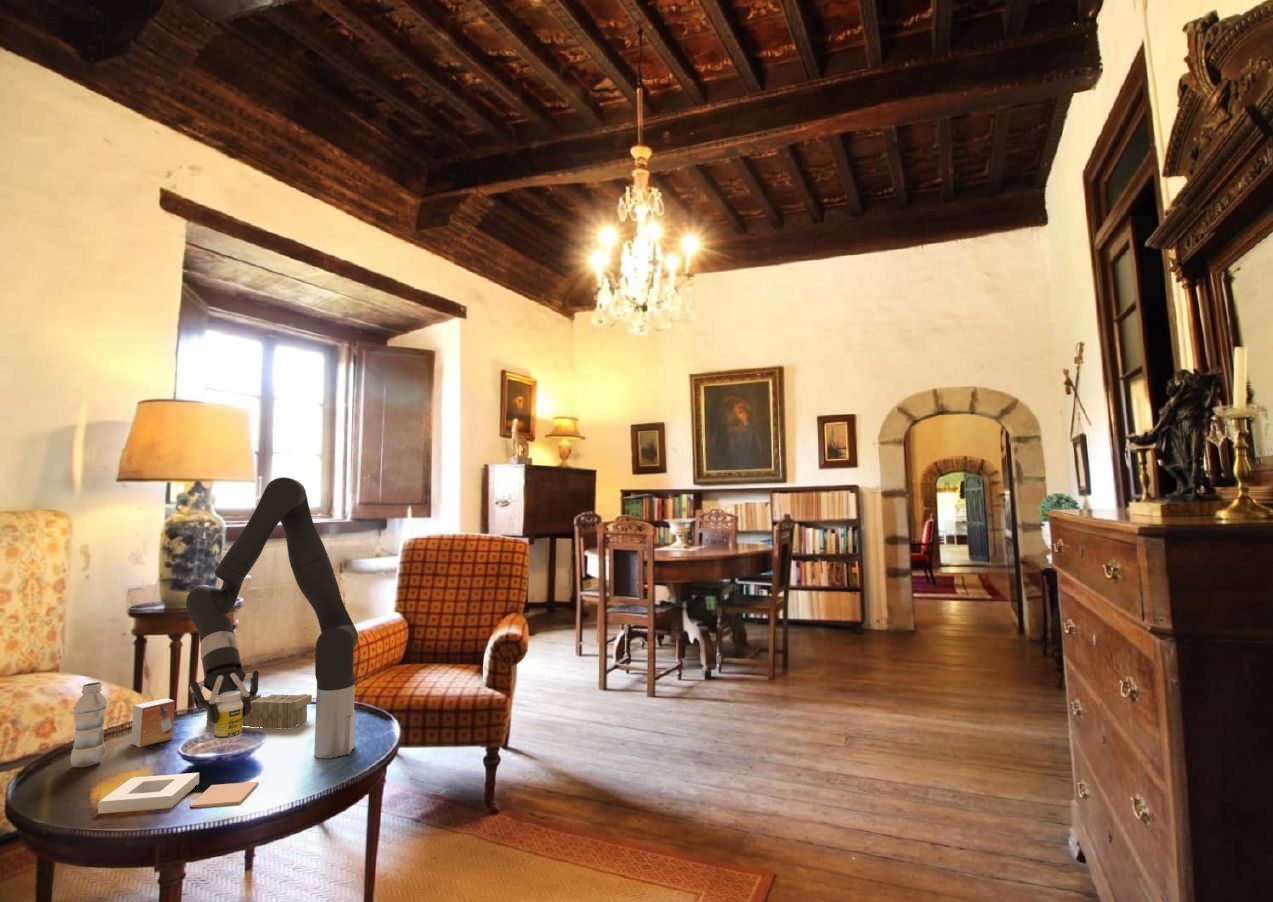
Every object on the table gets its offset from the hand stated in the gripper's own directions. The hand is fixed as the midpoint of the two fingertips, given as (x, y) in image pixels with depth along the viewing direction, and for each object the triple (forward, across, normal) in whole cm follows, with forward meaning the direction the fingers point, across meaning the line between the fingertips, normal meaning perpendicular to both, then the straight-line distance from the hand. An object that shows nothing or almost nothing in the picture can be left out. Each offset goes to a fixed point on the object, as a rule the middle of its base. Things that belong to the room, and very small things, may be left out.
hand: (231, 717), depth 143 cm
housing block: (+3, -12, +21) cm, 25 cm away
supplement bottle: (+2, 0, +5) cm, 5 cm away
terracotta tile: (+11, 0, +14) cm, 18 cm away
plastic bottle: (-20, -20, +45) cm, 53 cm away
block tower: (-22, +19, +48) cm, 56 cm away
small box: (-26, -6, +51) cm, 58 cm away
